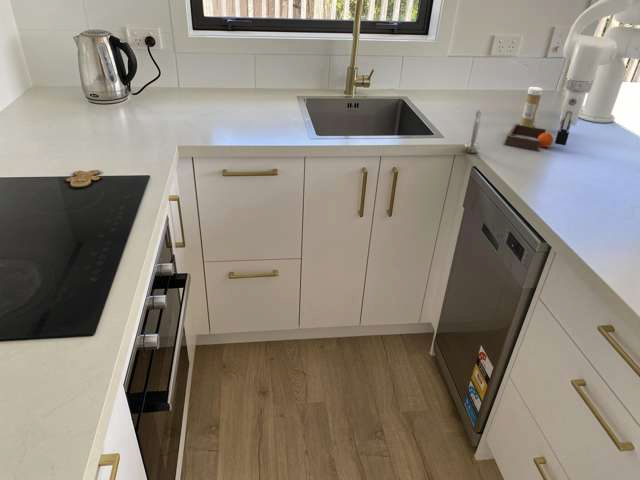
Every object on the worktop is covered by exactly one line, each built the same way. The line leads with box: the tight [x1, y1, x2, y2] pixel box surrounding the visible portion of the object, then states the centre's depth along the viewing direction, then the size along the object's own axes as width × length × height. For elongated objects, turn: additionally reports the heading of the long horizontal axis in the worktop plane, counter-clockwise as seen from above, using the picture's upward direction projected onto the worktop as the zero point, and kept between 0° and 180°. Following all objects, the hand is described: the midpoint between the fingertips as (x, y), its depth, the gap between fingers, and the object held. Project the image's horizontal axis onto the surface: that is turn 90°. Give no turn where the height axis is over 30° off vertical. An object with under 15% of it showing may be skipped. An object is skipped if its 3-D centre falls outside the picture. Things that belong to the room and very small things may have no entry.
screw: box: [463, 109, 482, 154], centre depth 146 cm, size 13×5×5 cm
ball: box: [536, 132, 554, 148], centre depth 153 cm, size 4×4×4 cm
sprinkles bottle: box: [519, 86, 544, 127], centre depth 167 cm, size 5×5×14 cm
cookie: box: [65, 169, 101, 189], centre depth 126 cm, size 8×1×10 cm
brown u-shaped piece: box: [504, 123, 547, 152], centre depth 158 cm, size 14×10×3 cm
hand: (560, 143), depth 153 cm, fingers closed
